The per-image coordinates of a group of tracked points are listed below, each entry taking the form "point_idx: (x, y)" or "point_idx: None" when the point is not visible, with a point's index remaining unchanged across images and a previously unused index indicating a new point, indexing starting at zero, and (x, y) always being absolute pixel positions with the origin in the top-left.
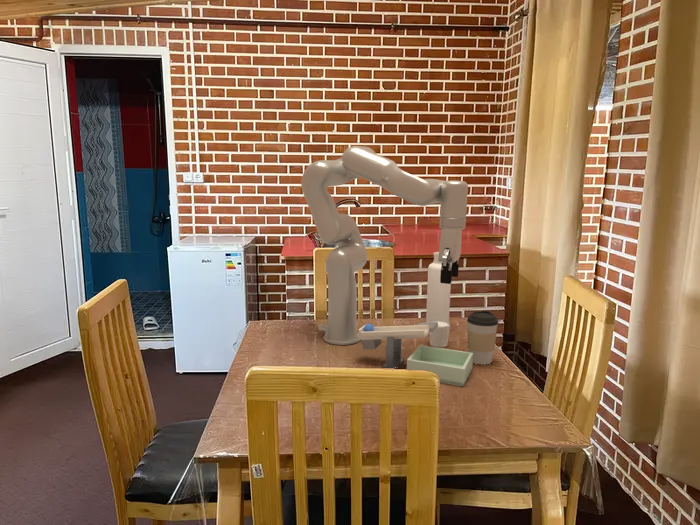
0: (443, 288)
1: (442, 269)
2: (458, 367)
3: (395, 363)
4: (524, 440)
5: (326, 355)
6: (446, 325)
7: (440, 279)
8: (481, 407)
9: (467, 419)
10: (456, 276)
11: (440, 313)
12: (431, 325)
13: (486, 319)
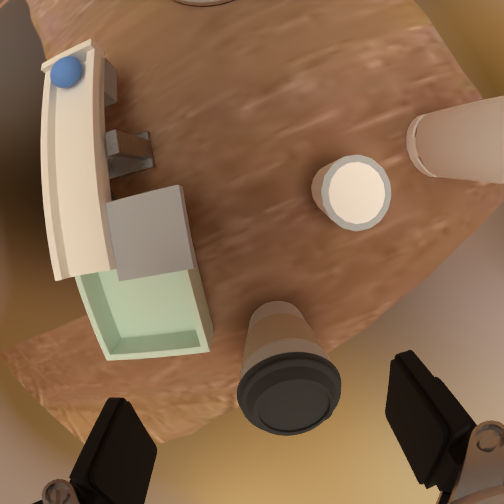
0: None
1: (58, 490)
2: (105, 348)
3: (112, 167)
4: (63, 421)
5: (96, 16)
6: (358, 219)
7: (102, 413)
8: (83, 378)
9: (45, 367)
10: (387, 411)
11: (447, 160)
12: (146, 262)
13: (258, 424)
